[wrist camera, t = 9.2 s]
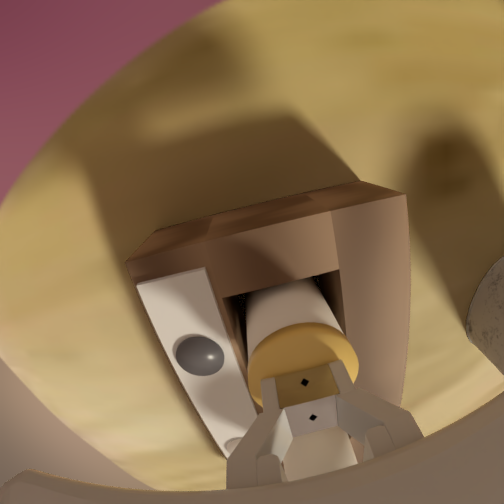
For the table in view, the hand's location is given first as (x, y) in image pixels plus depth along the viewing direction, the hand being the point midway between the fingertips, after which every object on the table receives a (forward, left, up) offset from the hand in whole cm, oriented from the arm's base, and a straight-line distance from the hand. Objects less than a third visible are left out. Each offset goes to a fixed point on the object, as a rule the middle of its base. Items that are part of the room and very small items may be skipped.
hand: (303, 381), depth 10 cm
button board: (0, +8, -8) cm, 11 cm away
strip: (+4, +8, -3) cm, 10 cm away
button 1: (0, 0, -8) cm, 8 cm away
